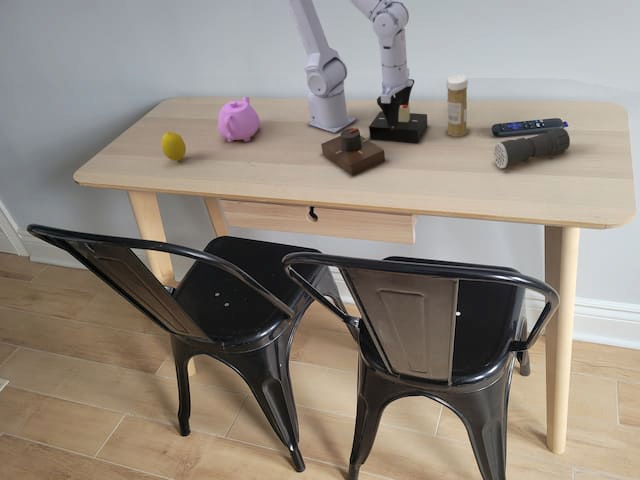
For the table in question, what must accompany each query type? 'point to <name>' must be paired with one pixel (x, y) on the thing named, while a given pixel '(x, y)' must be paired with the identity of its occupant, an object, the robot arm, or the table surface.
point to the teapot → (238, 120)
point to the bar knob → (404, 113)
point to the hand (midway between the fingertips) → (397, 118)
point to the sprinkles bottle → (457, 105)
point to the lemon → (173, 146)
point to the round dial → (351, 139)
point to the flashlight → (530, 147)
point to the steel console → (399, 129)
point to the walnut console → (353, 155)
